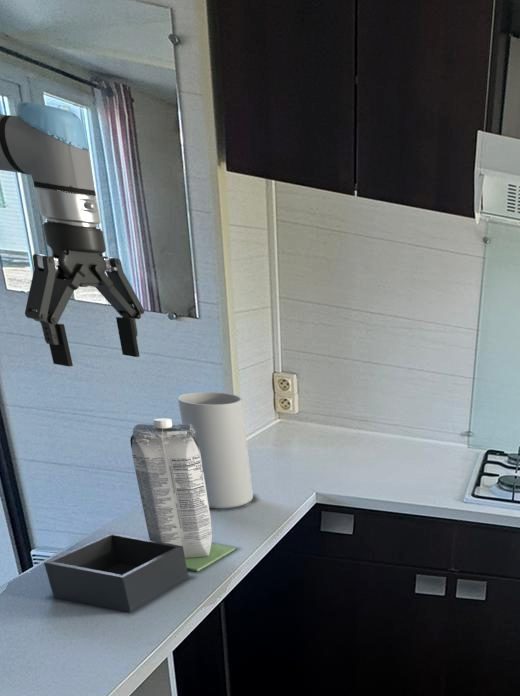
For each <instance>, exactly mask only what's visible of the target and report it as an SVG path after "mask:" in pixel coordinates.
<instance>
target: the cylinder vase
mask: <svg viewBox="0 0 520 696" xmlns="http://www.w3.org/2000/svg"><path fill="white" fill-rule="evenodd" d="M177 402H178V408H179V414H180V420H181V424H191V425H192V426H193V427H194V428H195V431H196V435H197V439H198V443H199V448H200V454H201V460H202V466H203V473H204V479H205V485H206V492H207V498H208V505H209V509H232V508H237V507H241V506H244V505H246V504H249V503H250V502H251V501H252V500H253V498H254V493H253V484H252V483H253V482H252V475H251V466H250V458H249V450H248V442H247V441H248V440H247V433H246V424H245V416H244V408H243V400H242V397H241V396H238V395H237V394H232V393H226V392H214V391H200V392H189V393H184V394H181V395H178V397H177Z"/></svg>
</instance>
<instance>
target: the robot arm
mask: <svg viewBox="0 0 520 696" xmlns="http://www.w3.org/2000/svg"><path fill="white" fill-rule="evenodd" d="M16 111H17V112H16V114H17V115H10V114H8V115H7V114H2V113H0V171H4V172H12V173H19V174H22V175H29V176H30V175H31V179H32V182H33V187H34V192H35V197H36V201H37V207H38V211H39V216H41V217H42V218H45V220H44V221H43V222H42V229H43V234H44V239H45V244H46V245H47V246H48V247H50V249H51V251H52V255H46V254H39V253H33V254H32V264H33V272H32V277H31V282H30V287H29V291H28V296H27V301H26V305H25V310H24V315H25V317H26V318H27V319H31V320H34V321H36V322H39V323H40V325H41V329H42V334H43V339H44V342H45V343H46V344H47V345H48V346H49V349H50V354H51V359H52V362H53V365H58V366H63V367H73V366H74V364H73V360H72V355H71V350H70V346H69V341H68V336H67V332H66V327H65V324H64V323H59V322H60V319H61V317H62V315H63V313H64V311H65V309H66V307H67V305H68V304H69V301H70V299H71V296H72V295H73V293H74V291H76V290H79V288H87V287H93V288H95V289H96V290H98V292H99V293H100V294H101V296H102V297H103V298H104V299H105V300H106V301H107V302H108V303H109V304H110V306H111V307H112V308H113V309H114V310H115V312H116V313H118V315H119V316H115V320H116V326H117V331H118V332H117V333H118V336H119V343H120V347H121V348H120V349H121V353H122V356H128V357H134V358H139V357H140V351H139V345H138V338H137V337H138V328H137V322H136V320H140V319H141V318H142V315H144V314H145V309H144V307H143V305H142V303H141V301H140V300H139V297H138V296H137V294H136V292H135V290H134V289H133V287H132V285H131V282H129V280H128V278H127V275H126V273H125V272H124V269H123V264H122V261H121V259H120V258H117V257H111V256H103V254H104V253H106V251H107V248H106V241H105V237H104V231H103V230H102V229H101V228H100V227H98V226H97V225H100V224H101V223H102V221H101V217H100V211H99V205H98V204H99V203H98V199H97V193H96V190H95V189H96V188H95V183H94V177H93V172H92V164H91V160H90V153H89V151H90V147H89V146H88V142H87V137H86V134H85V130H84V127H83V126H84V125H83V122H82V120H81V118H80V117H79V116H78V115H77V114H76V113H74V112H72V111H71V110H67V109H63V108H60V107H55V106H51V105H46V104H41V103H37V102H28V101H19V102H18V103H17V104H16Z"/></svg>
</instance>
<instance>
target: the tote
mask: <svg viewBox="0 0 520 696" xmlns="http://www.w3.org/2000/svg"><path fill="white" fill-rule="evenodd" d="M43 565H44V569H45V571H46V575H47V578H48V582H49V586H50V590H51V592H52V597H53V598H56V599H62V600H66V601H71V602H75V603H80V604H81V603H82V604H87V605H90V606H91V605H92V606H97V607H100V608H101V607H102V608H107V609H112V610H118V611H122V612H127V613H132V612H133V611H135V610H137V609H139V608H140V607H142V606H144V605H146V604H147V603H149V602H151V601H152V600H154V599H155V598H157V597H159V596H161V595H162V594H163V593H165V592H168V591H169V590H171V589H172V588H174V587H176V586H177V585H180V584H181V583H183V582H185V581H186V580H188V579H189V578H190V577H189V572H188V570H187V566H186V561H185V555H184V550H183V546H179V545H174V544H168V543H163V542H158V541H152V540H150V539H147V538H142V537H137V536H131V535H125V534H120V533H113V532H110V533H107V534H106V535H104V536H101V537H99V538H96V539H94V540H92V541H90V542H88V543H85V544H83V545H80V546H78V547H76V548H74V549H71V550H70V551H69V550H68V551H67V552H64V553H62V554H60V555H58V556H55V557H53V558H50V559H48V560H47V561H44V562H43Z"/></svg>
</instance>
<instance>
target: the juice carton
mask: <svg viewBox="0 0 520 696" xmlns="http://www.w3.org/2000/svg"><path fill="white" fill-rule="evenodd" d="M152 422H153V424H143V423H138V424H136V425H134V427H133V429H132V434H131V436H130V447H131V454H132V461H133V466H134V471H135V476H136V482H137V486H138V491H139V496H140V501H141V505H142V511H143V517H144V520H145V525H146V529H147V533H148V540H152V541H158V542H163V543H168V544H174V545H179V546H183V550H184V555H185V558H194V557H205V556H209V553H210V548H211V543H213V534H212V533H213V531H212V530H213V529H212V518H211V511H210V508H209V505H208V498H207V492H206V485H205V479H204V473H203V466H202V460H201V454H200V448H199V443H198V439H197V435H196V431H195V428H194V427H193V426H192V425H191V424H182V423H179V424H173V421H172V418H165V417H163V418H161V417H160V418H154V419H152Z"/></svg>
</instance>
